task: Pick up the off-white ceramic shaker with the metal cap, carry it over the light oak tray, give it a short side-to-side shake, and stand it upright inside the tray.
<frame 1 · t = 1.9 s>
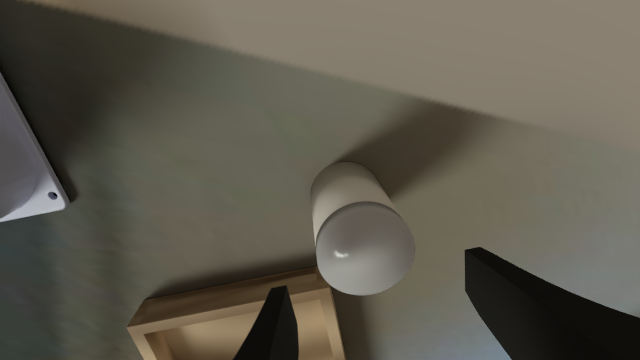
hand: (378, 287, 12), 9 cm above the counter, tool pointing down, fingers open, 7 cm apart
tray: (258, 348, 25), on the counter
shaker: (344, 194, 21), on the counter
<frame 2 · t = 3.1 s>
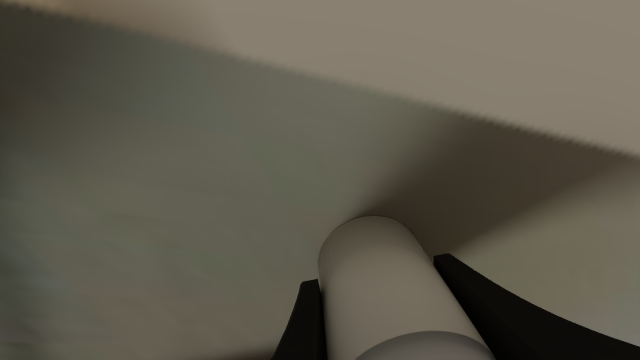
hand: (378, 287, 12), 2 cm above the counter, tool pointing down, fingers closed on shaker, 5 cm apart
shaker: (368, 261, 14), on the counter, touching gripper
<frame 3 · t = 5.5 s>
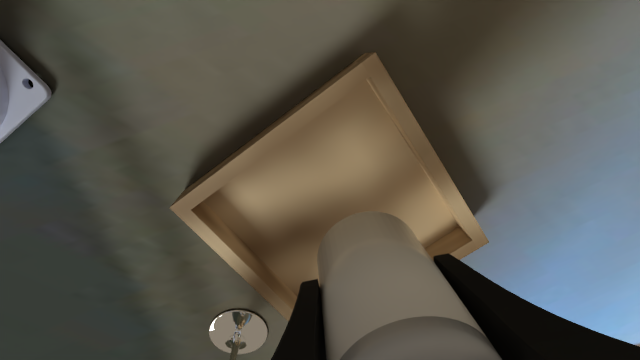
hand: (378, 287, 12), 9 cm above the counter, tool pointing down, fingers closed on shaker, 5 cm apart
tray: (334, 207, 21), on the counter
shaker: (368, 257, 14), point 7 cm above the counter, touching gripper
wineglass: (239, 329, 24), on the counter
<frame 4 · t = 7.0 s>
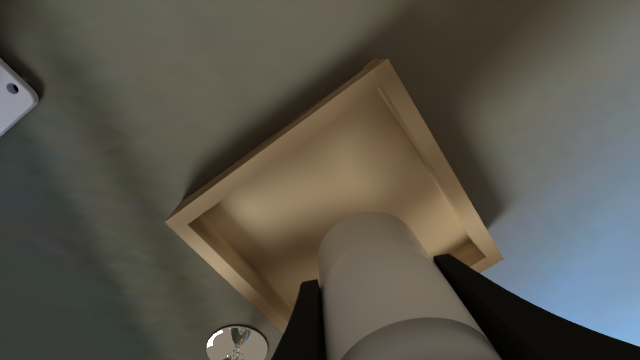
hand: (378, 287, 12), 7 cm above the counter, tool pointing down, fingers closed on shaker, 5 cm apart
tray: (340, 220, 20), on the counter
shaker: (368, 257, 14), point 6 cm above the counter, touching gripper
wineglass: (237, 346, 23), on the counter
when the fingers open (4 cm above the counter, at t = 8.2 s): shaker drops 1 cm, resting on tray.
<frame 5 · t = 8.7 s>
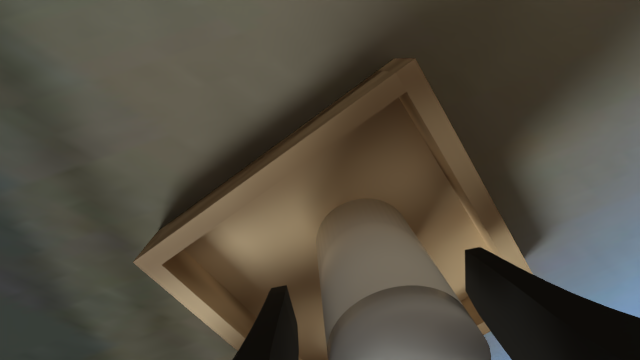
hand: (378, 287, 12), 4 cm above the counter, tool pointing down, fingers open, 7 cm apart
tray: (348, 251, 16), on the counter
shaker: (362, 241, 15), point 1 cm above the counter, touching tray
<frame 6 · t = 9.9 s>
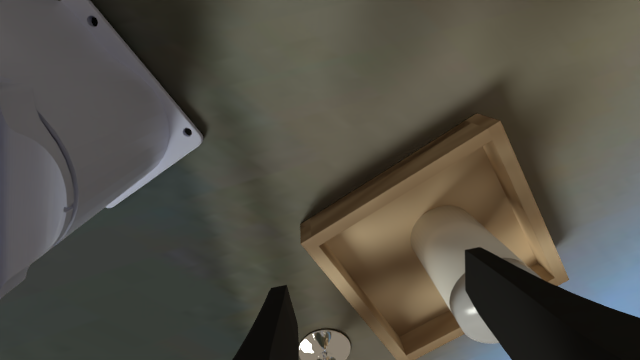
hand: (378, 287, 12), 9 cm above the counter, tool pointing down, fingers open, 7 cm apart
tray: (428, 242, 23), on the counter
shaker: (442, 234, 22), point 1 cm above the counter, touching tray
wineglass: (324, 347, 26), on the counter
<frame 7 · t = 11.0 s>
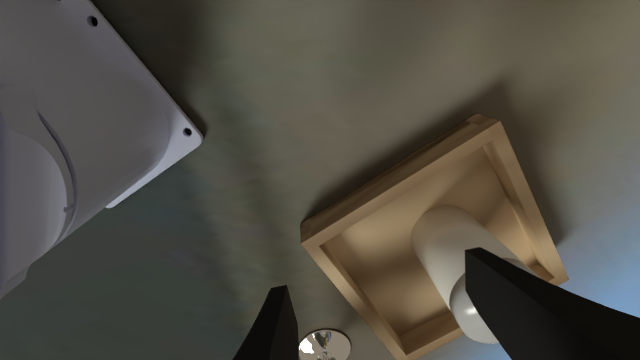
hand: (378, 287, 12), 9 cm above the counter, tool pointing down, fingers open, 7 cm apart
tray: (428, 242, 23), on the counter
shaker: (442, 234, 22), point 1 cm above the counter, touching tray
wineglass: (324, 347, 26), on the counter
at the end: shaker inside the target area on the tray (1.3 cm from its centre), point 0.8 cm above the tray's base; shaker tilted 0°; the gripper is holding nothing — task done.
